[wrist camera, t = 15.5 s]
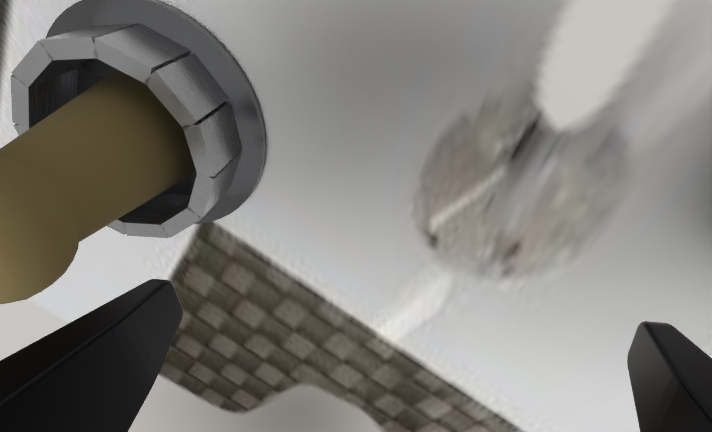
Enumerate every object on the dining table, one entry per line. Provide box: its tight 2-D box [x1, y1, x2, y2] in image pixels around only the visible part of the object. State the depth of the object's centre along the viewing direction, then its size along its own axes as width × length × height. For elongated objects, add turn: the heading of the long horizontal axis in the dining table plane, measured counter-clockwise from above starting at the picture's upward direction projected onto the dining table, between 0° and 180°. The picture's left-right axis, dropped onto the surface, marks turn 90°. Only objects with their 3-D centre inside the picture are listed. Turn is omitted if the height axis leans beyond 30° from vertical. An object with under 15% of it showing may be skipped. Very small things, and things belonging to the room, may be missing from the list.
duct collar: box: [11, 0, 266, 238], centre depth 21 cm, size 12×12×4 cm
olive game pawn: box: [0, 70, 196, 304], centre depth 18 cm, size 6×6×11 cm
